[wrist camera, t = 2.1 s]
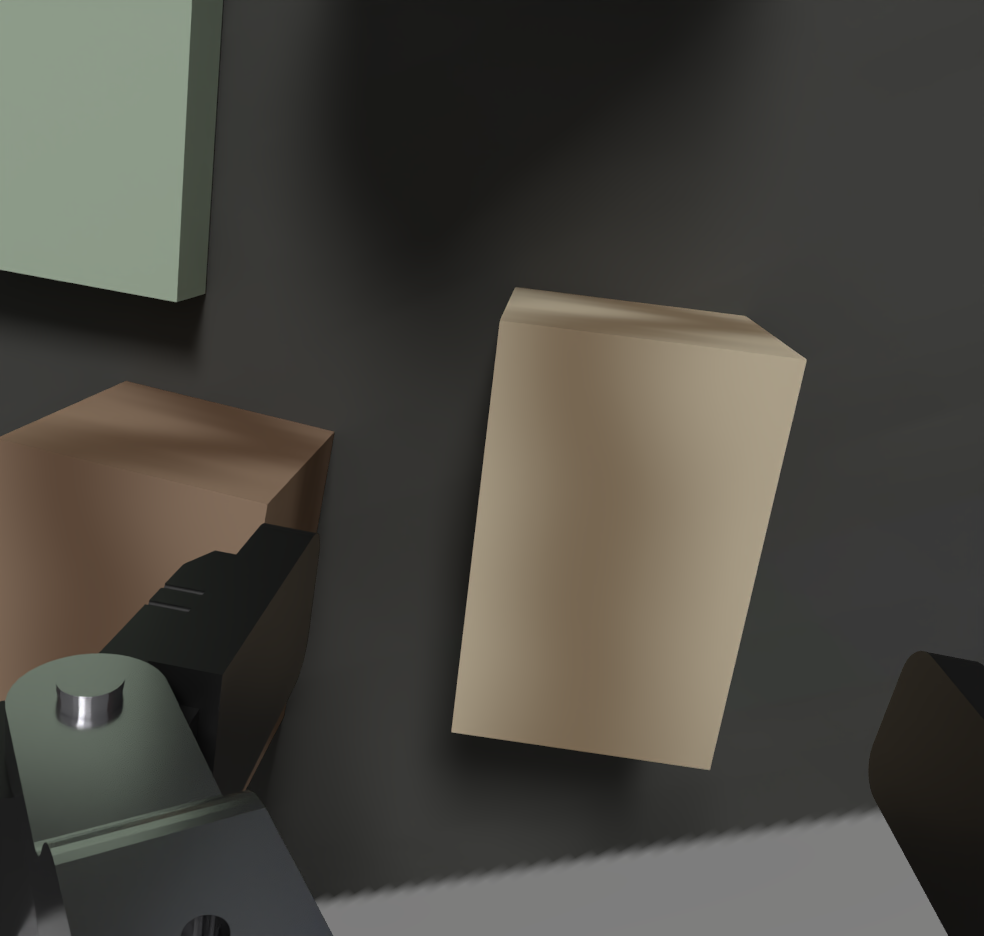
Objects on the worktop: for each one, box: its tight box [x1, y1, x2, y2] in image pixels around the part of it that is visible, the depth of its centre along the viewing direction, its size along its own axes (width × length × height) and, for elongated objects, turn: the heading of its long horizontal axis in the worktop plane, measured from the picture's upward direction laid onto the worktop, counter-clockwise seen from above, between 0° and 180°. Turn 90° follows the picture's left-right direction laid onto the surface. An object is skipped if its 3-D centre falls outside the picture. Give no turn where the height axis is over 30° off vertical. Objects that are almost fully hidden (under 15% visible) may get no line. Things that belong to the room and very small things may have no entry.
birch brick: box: [451, 287, 807, 770], centre depth 18 cm, size 5×8×5 cm, turn 173°
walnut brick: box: [0, 381, 334, 791], centre depth 19 cm, size 5×8×5 cm, turn 167°
